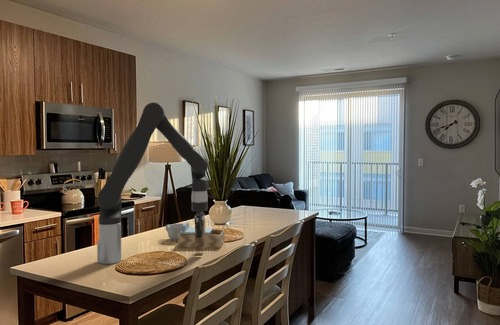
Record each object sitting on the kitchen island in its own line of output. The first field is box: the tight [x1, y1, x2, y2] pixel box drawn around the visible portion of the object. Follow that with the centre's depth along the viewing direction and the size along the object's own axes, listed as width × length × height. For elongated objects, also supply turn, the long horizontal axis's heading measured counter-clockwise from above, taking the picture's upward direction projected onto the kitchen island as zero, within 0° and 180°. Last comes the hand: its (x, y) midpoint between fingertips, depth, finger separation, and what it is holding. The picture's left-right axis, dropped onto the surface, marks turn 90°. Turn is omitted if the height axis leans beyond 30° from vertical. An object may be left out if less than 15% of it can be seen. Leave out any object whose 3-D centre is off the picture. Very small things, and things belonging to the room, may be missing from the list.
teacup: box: [165, 222, 184, 242], centre depth 207 cm, size 14×11×8 cm
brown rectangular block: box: [194, 218, 206, 251], centre depth 176 cm, size 4×4×14 cm
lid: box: [180, 221, 214, 234], centre depth 193 cm, size 15×13×4 cm
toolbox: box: [177, 228, 226, 249], centre depth 193 cm, size 22×13×7 cm, turn 87°
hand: (199, 236), depth 176 cm, fingers closed on brown rectangular block, 4 cm apart
